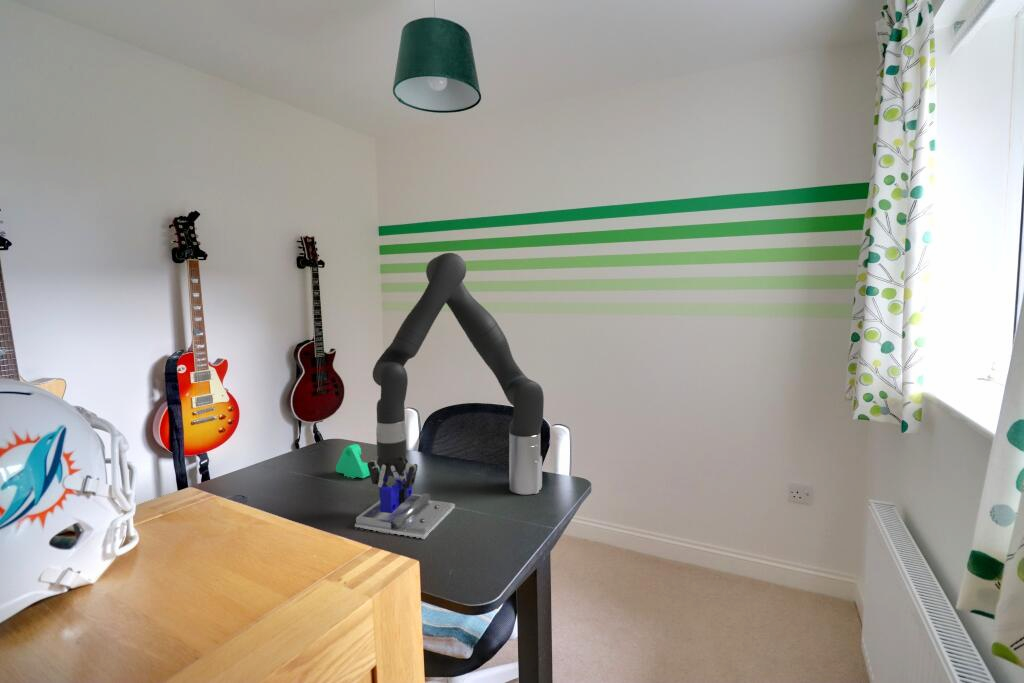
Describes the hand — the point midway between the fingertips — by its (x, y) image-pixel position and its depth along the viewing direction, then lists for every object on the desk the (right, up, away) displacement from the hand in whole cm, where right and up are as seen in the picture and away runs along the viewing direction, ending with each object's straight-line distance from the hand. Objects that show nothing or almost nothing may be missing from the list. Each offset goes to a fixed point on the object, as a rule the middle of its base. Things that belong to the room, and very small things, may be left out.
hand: (393, 500), depth 125 cm
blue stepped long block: (0, -1, +1) cm, 1 cm away
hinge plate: (+4, -4, -1) cm, 6 cm away
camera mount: (-19, -2, +30) cm, 36 cm away
